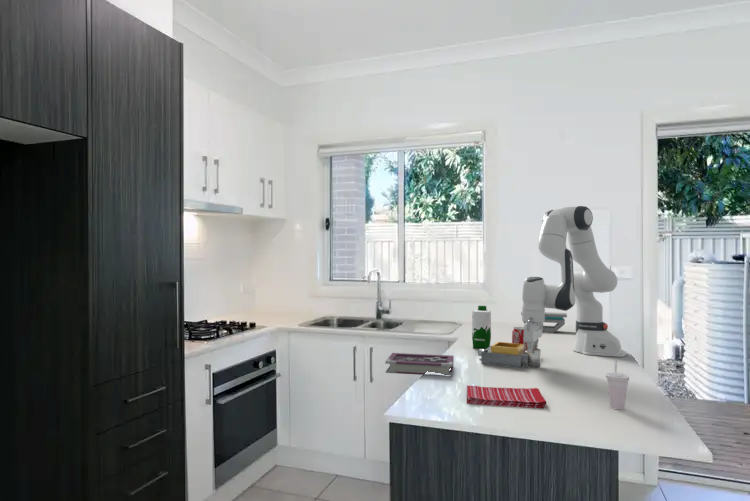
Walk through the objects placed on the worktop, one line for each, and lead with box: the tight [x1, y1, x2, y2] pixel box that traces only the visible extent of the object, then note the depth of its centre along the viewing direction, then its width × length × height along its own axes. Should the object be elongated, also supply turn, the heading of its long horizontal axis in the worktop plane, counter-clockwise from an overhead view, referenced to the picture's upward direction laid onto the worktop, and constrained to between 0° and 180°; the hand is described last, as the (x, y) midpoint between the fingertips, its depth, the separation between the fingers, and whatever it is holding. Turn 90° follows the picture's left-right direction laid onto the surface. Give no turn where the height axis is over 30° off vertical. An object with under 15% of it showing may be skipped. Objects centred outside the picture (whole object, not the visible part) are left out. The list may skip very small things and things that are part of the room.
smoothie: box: [605, 360, 630, 410], centre depth 145 cm, size 6×6×14 cm
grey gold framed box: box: [477, 341, 528, 369], centre depth 205 cm, size 20×14×8 cm
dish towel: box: [466, 385, 547, 409], centre depth 155 cm, size 17×24×3 cm
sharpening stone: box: [520, 311, 568, 333], centre depth 286 cm, size 25×8×11 cm, turn 70°
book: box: [385, 352, 455, 376], centre depth 191 cm, size 25×16×5 cm, turn 79°
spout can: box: [524, 348, 542, 369], centre depth 198 cm, size 6×5×7 cm
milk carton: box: [471, 305, 492, 350], centre depth 237 cm, size 9×9×20 cm
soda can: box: [511, 326, 528, 350], centre depth 221 cm, size 7×7×12 cm
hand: (532, 350), depth 197 cm, fingers open, 8 cm apart
